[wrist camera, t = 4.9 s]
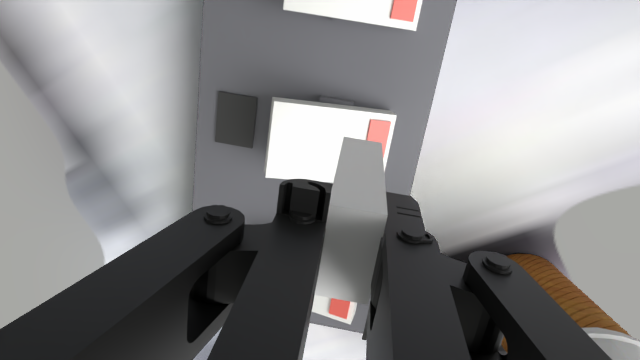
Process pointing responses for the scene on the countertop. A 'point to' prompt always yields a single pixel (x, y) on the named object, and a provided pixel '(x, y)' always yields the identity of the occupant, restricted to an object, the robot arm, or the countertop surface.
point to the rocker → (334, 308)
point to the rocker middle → (319, 136)
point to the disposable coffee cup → (579, 309)
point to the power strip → (305, 94)
